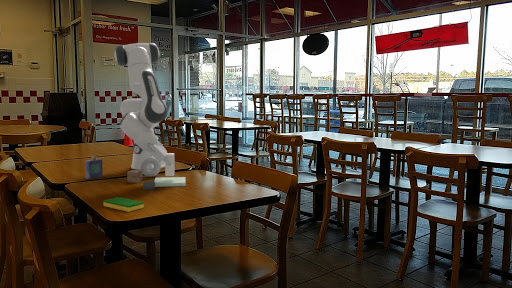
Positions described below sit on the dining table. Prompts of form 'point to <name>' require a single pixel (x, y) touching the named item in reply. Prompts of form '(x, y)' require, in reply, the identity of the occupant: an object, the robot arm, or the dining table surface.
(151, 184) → the rubber puck
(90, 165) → the flask
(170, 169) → the tall block
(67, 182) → the dining table surface
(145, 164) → the donut
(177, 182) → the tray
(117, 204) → the dish sponge
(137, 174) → the walnut cube
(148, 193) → the dining table surface
